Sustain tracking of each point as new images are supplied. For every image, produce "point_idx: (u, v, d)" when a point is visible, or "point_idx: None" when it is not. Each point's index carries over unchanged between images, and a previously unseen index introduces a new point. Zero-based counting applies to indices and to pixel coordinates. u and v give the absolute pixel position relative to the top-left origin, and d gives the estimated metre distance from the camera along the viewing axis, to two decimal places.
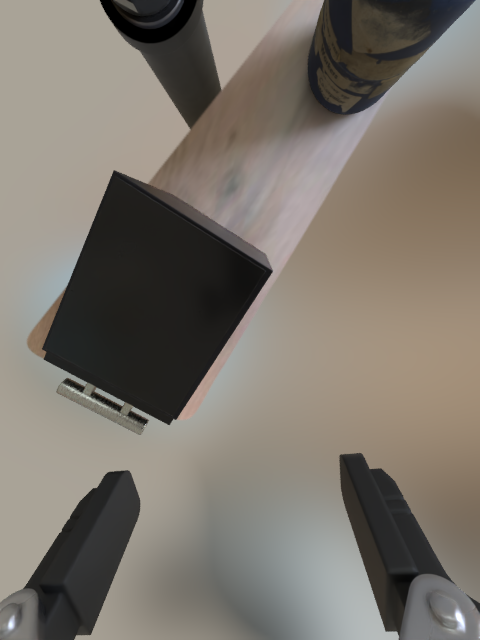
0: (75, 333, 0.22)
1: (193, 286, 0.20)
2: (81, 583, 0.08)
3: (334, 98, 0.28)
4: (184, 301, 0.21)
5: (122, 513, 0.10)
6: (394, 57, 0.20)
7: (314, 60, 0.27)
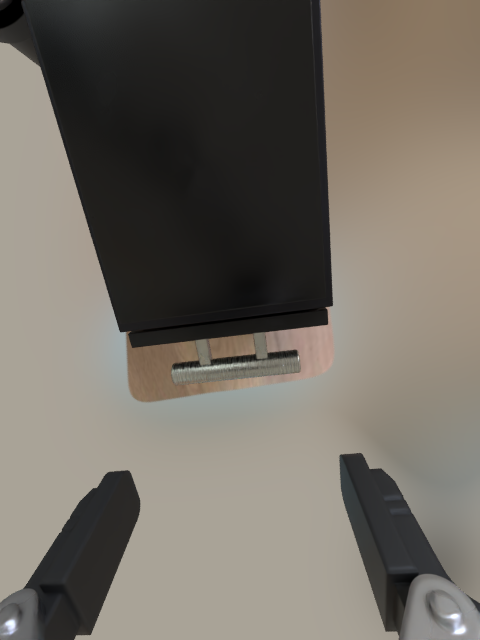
0: (136, 274, 0.15)
1: (222, 63, 0.12)
2: (81, 583, 0.08)
3: None
4: (227, 101, 0.12)
5: (122, 513, 0.10)
6: None
7: None
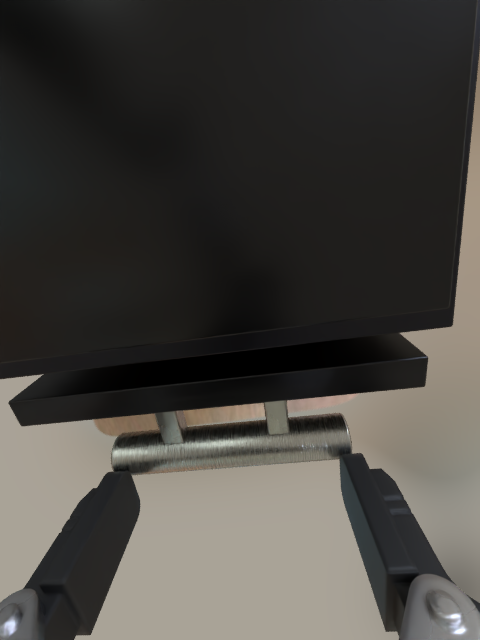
0: None
1: None
2: (81, 583, 0.08)
3: None
4: None
5: (122, 513, 0.10)
6: None
7: None
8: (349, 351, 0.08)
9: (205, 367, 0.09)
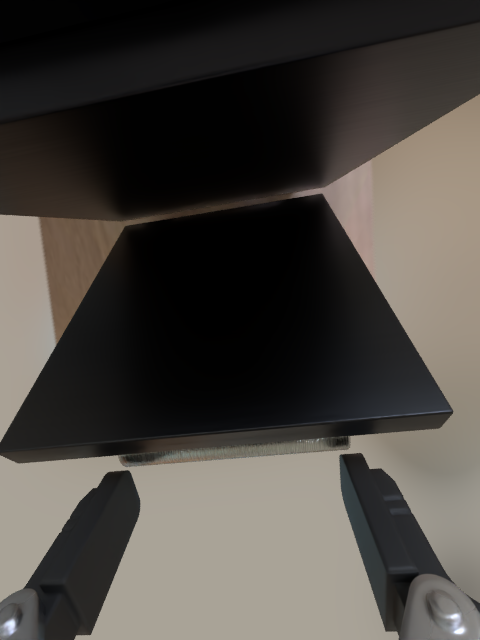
0: None
1: None
2: (81, 583, 0.08)
3: None
4: None
5: (122, 513, 0.10)
6: None
7: None
8: (366, 392, 0.07)
9: (205, 407, 0.08)
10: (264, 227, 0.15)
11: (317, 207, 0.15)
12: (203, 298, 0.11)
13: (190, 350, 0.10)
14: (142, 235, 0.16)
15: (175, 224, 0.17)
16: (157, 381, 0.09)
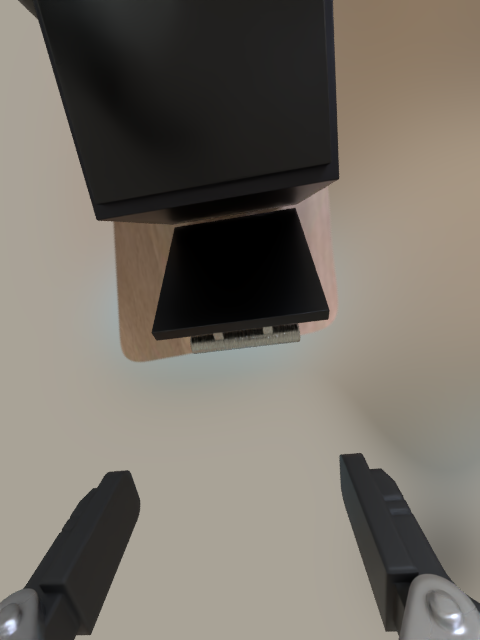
0: (111, 137, 0.13)
1: None
2: (81, 583, 0.08)
3: None
4: None
5: (122, 513, 0.10)
6: None
7: None
8: (299, 305, 0.19)
9: (236, 313, 0.20)
10: (260, 230, 0.26)
11: (291, 218, 0.27)
12: (230, 270, 0.23)
13: (227, 293, 0.21)
14: (188, 234, 0.28)
15: (206, 226, 0.28)
16: (214, 306, 0.21)
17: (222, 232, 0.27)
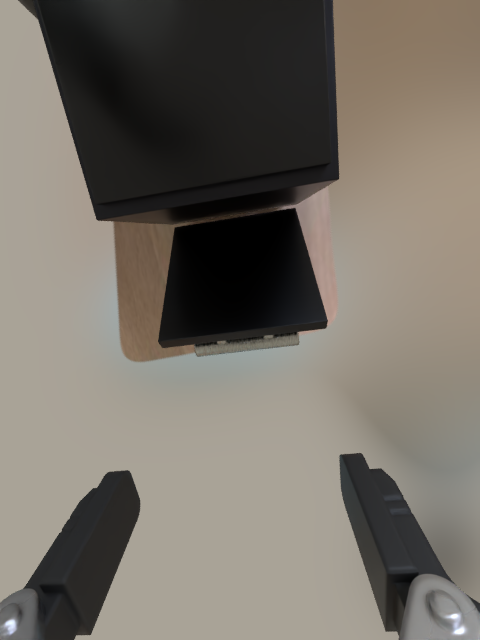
0: (111, 137, 0.13)
1: None
2: (81, 583, 0.08)
3: None
4: None
5: (122, 513, 0.10)
6: None
7: None
8: (299, 315, 0.20)
9: (239, 323, 0.21)
10: (260, 233, 0.26)
11: (291, 219, 0.27)
12: (231, 277, 0.23)
13: (229, 301, 0.22)
14: (188, 235, 0.28)
15: (207, 227, 0.28)
16: (217, 314, 0.21)
17: (222, 234, 0.27)
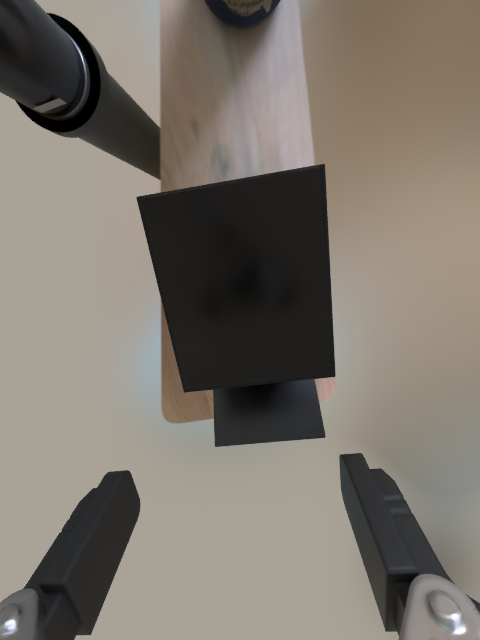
0: (200, 357, 0.22)
1: (265, 237, 0.19)
2: (81, 583, 0.08)
3: (253, 4, 0.26)
4: (266, 257, 0.19)
5: (122, 513, 0.10)
6: None
7: None
8: (307, 431, 0.31)
9: (268, 434, 0.32)
10: None
11: None
12: (259, 392, 0.34)
13: (260, 415, 0.33)
14: None
15: None
16: (252, 426, 0.32)
17: None
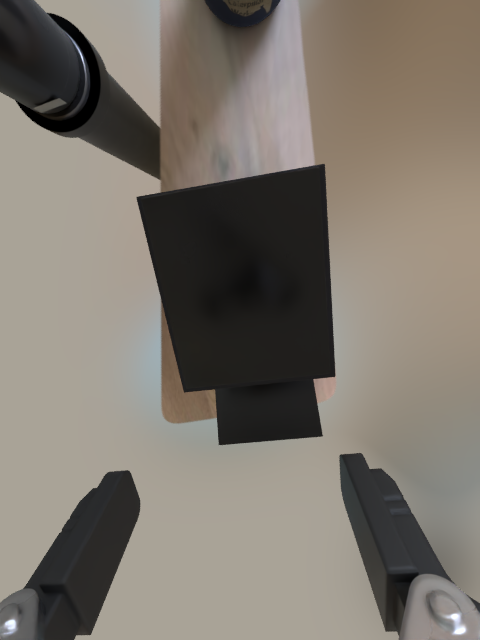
0: (200, 357, 0.22)
1: (265, 237, 0.19)
2: (81, 583, 0.08)
3: (253, 4, 0.26)
4: (266, 257, 0.19)
5: (122, 513, 0.10)
6: None
7: None
8: (305, 430, 0.33)
9: (268, 434, 0.33)
10: None
11: None
12: (260, 393, 0.35)
13: (261, 415, 0.34)
14: None
15: None
16: (254, 426, 0.34)
17: None
